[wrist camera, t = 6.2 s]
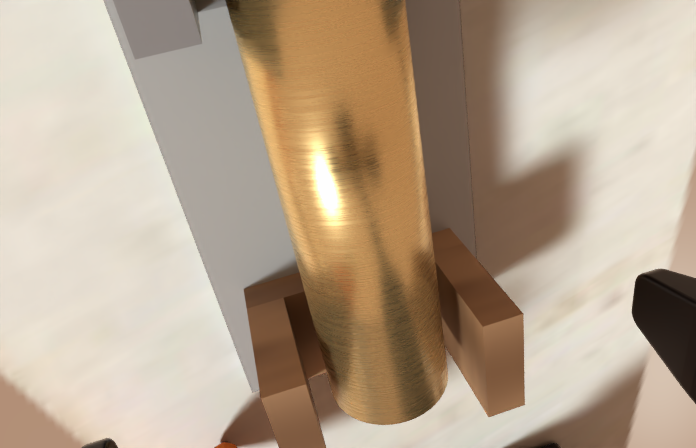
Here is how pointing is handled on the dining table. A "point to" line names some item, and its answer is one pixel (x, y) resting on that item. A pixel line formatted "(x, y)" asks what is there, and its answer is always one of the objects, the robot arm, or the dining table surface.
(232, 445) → the carrot
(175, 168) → the board
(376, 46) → the tube
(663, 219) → the dining table surface
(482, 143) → the dining table surface
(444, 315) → the wooden u-shaped cradle
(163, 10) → the socket
